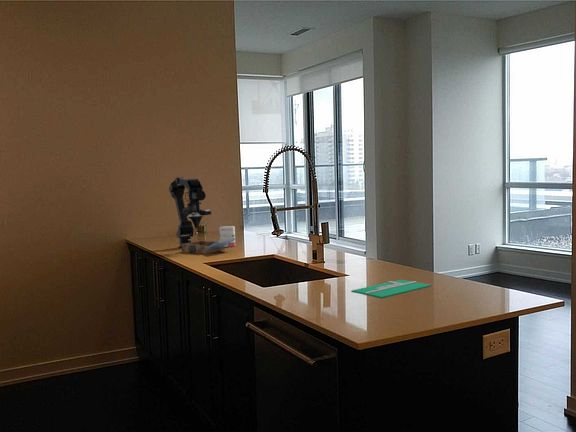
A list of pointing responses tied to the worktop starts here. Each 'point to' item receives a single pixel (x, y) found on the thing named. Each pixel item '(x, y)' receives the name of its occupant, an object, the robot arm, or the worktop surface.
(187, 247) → the tray
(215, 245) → the tailgate
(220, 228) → the ink box
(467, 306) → the worktop surface
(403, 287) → the sign
